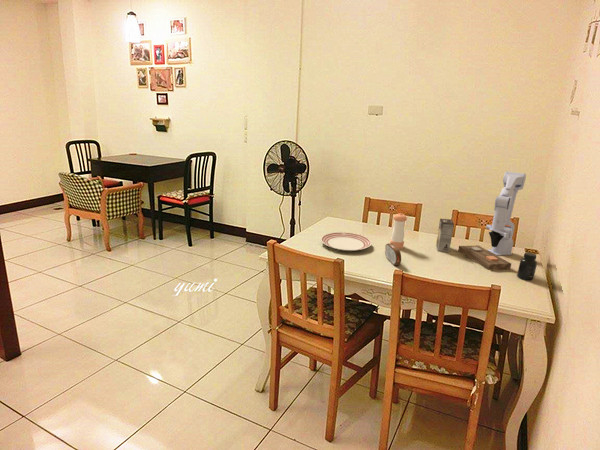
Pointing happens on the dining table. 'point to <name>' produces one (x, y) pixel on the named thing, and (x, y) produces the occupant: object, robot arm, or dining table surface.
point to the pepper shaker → (398, 230)
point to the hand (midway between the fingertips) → (494, 246)
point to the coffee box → (444, 235)
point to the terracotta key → (491, 258)
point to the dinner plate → (346, 241)
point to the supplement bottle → (527, 267)
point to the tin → (393, 254)
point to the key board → (484, 258)
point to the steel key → (476, 249)
